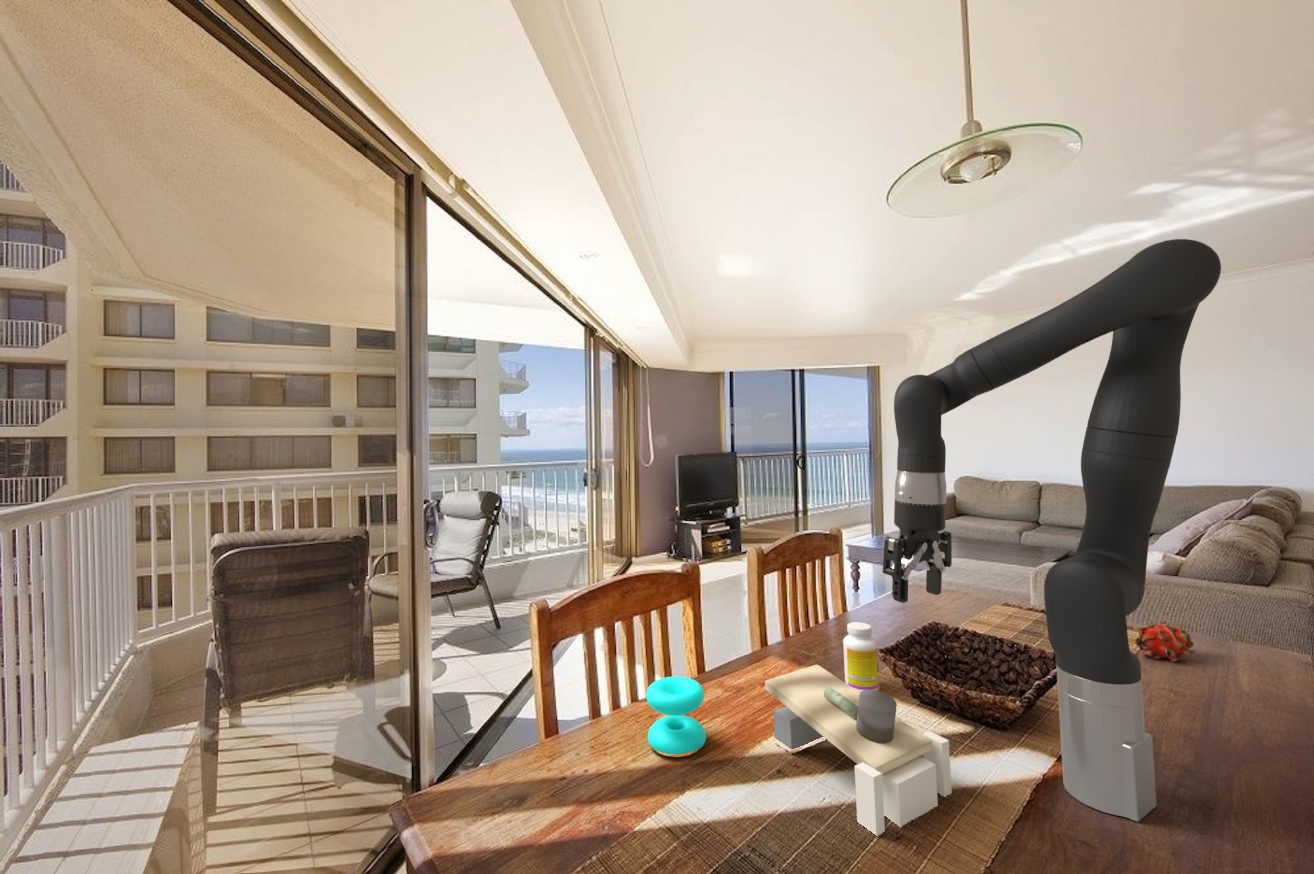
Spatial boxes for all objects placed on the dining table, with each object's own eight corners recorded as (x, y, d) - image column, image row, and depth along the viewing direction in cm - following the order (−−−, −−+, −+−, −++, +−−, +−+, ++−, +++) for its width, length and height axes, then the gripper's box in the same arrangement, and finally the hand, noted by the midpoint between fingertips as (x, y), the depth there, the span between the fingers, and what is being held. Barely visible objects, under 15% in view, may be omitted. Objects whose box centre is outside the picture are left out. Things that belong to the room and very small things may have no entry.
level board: (930, 750, 76) (935, 708, 75) (874, 777, 70) (879, 732, 70) (816, 671, 95) (819, 637, 94) (764, 688, 89) (767, 652, 89)
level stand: (955, 795, 75) (952, 741, 76) (879, 839, 67) (876, 779, 68) (825, 723, 96) (823, 681, 96) (756, 750, 88) (754, 705, 89)
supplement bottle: (885, 695, 106) (881, 630, 107) (851, 696, 106) (848, 631, 107) (872, 680, 113) (869, 619, 113) (840, 681, 113) (837, 620, 114)
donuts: (692, 670, 98) (712, 693, 88) (694, 725, 97) (715, 754, 88) (639, 678, 95) (654, 703, 86) (642, 735, 95) (656, 766, 85)
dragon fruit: (1197, 665, 118) (1146, 676, 118) (1162, 632, 125) (1113, 642, 125) (1215, 642, 113) (1162, 654, 113) (1177, 609, 120) (1127, 620, 120)
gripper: (912, 505, 80) (909, 611, 80) (968, 499, 87) (965, 597, 87) (870, 498, 86) (868, 597, 87) (926, 493, 93) (923, 584, 94)
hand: (917, 597), depth 87 cm, fingers open, 8 cm apart
